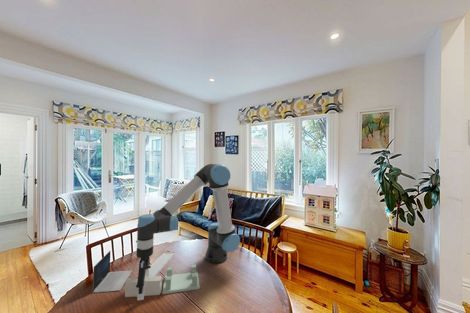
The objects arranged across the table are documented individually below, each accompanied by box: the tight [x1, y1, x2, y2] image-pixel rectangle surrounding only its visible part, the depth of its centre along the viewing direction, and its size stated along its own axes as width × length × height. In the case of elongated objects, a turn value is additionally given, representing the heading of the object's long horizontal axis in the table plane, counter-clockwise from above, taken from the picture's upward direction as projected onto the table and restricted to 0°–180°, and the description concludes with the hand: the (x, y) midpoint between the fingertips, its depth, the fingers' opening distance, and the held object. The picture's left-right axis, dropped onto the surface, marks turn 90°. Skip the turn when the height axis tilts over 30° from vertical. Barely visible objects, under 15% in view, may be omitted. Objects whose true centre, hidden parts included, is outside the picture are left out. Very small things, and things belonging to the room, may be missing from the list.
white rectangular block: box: [124, 275, 163, 298], centre depth 99 cm, size 16×4×7 cm, turn 98°
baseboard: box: [148, 250, 175, 277], centre depth 124 cm, size 30×3×10 cm
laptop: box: [92, 250, 133, 294], centre depth 108 cm, size 18×12×13 cm
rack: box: [161, 264, 200, 295], centre depth 107 cm, size 18×14×6 cm
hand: (143, 290), depth 98 cm, fingers open, 13 cm apart
